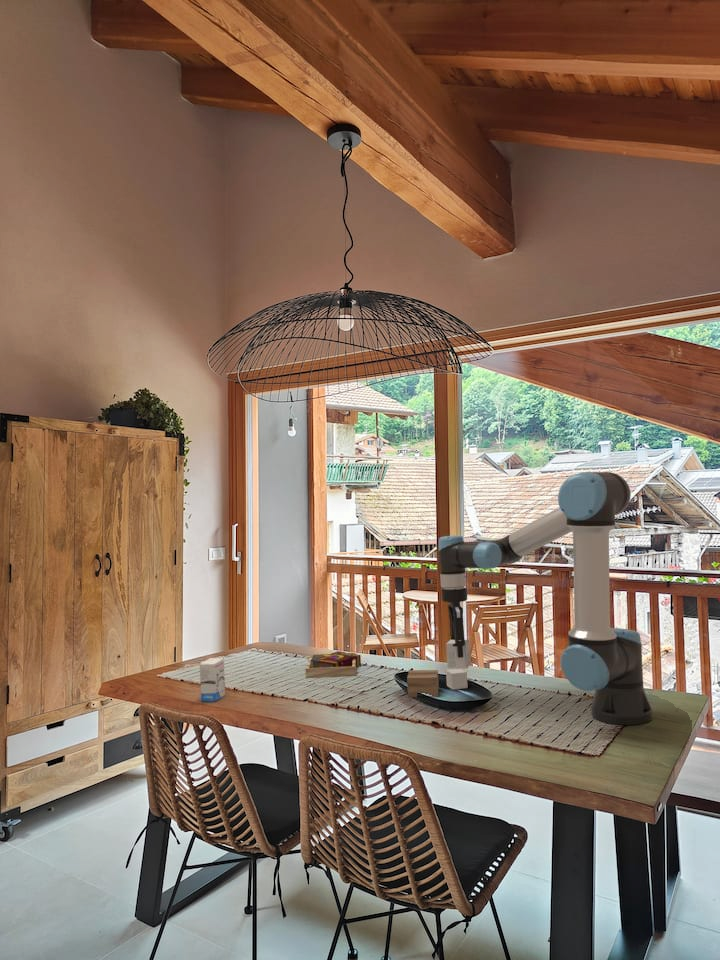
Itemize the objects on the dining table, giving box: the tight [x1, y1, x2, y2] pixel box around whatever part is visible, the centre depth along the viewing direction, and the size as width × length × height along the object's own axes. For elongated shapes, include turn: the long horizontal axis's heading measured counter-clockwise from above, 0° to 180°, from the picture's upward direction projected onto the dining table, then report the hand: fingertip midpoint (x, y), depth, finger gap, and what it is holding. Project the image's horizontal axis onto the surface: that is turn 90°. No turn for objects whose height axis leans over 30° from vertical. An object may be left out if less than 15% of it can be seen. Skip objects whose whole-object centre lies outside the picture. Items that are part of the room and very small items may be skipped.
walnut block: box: [406, 669, 440, 698], centre depth 214 cm, size 9×9×6 cm
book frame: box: [305, 652, 357, 679], centre depth 249 cm, size 22×17×3 cm
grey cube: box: [445, 668, 468, 691], centre depth 219 cm, size 5×5×5 cm
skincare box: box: [445, 639, 472, 670], centre depth 206 cm, size 6×6×7 cm
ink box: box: [199, 657, 226, 703], centre depth 218 cm, size 9×5×12 cm, turn 168°
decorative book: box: [311, 650, 362, 668], centre depth 249 cm, size 11×16×5 cm
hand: (459, 664), depth 205 cm, fingers closed on skincare box, 7 cm apart
